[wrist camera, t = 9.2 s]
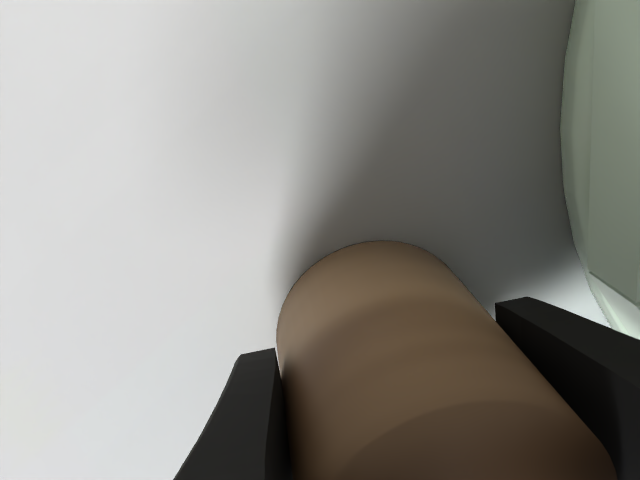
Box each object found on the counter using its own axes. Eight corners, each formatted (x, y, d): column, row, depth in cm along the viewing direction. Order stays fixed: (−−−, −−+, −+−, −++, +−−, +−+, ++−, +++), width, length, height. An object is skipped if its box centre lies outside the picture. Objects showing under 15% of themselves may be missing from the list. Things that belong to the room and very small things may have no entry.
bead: (473, 392, 12) (612, 610, 8) (294, 430, 12) (328, 679, 8) (462, 223, 11) (627, 368, 6) (259, 262, 11) (274, 442, 6)
